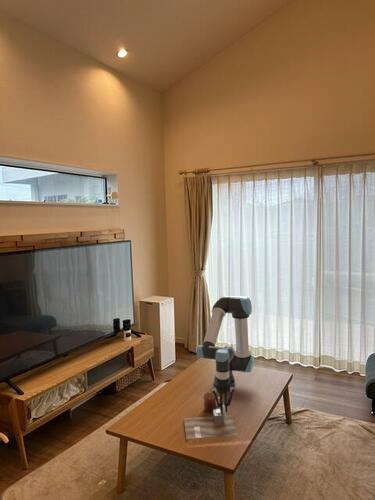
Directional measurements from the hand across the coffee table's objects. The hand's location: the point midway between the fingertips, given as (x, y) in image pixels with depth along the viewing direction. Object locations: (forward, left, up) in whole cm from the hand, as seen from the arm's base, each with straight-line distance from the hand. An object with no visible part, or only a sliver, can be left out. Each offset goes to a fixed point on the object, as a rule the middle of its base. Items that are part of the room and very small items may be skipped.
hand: (223, 416), depth 212 cm
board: (+3, -9, -3) cm, 10 cm away
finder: (0, -3, -2) cm, 4 cm away
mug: (-12, -5, -4) cm, 13 cm away
